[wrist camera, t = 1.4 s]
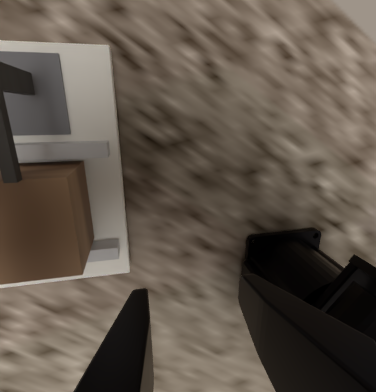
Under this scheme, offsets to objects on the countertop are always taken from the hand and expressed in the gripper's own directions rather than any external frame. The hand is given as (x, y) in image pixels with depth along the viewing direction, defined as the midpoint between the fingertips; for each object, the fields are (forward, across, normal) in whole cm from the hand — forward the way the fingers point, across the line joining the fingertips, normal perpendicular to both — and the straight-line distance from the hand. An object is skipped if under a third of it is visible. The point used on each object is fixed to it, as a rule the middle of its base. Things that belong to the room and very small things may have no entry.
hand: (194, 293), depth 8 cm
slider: (+9, +7, -2) cm, 12 cm away
